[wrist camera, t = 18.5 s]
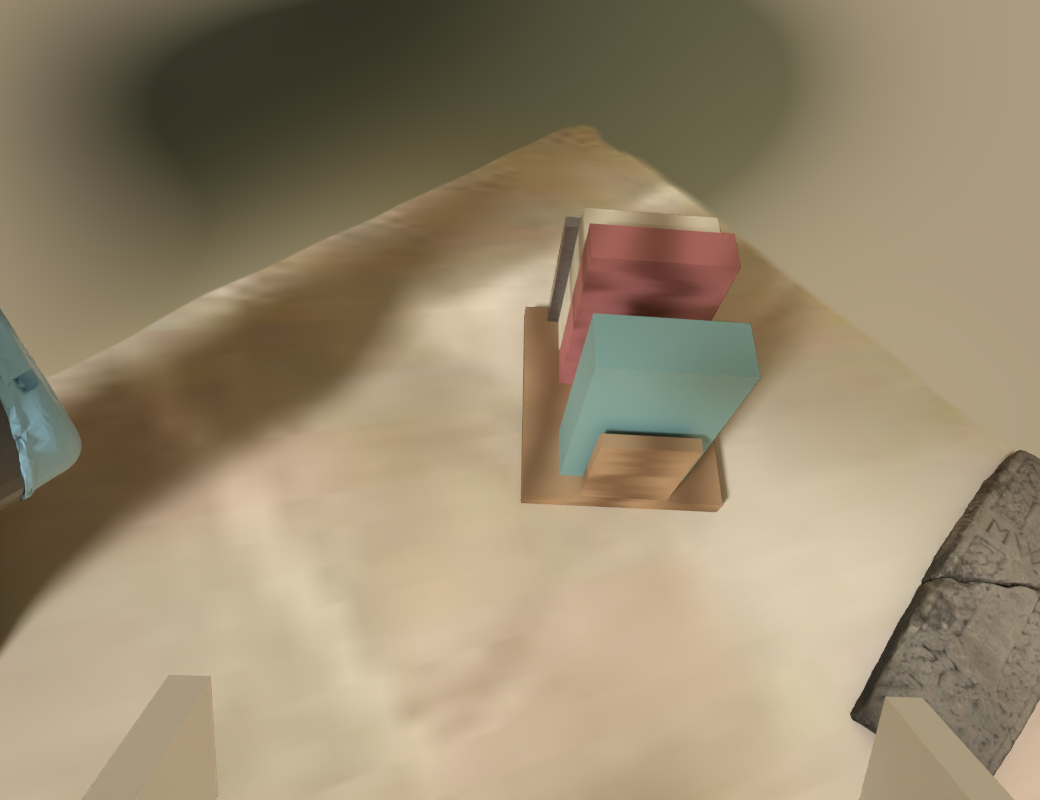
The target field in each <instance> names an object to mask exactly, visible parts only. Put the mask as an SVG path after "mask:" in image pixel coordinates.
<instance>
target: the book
mask: <svg viewBox="0 0 1040 800" xmlns="http://www.w3.org/2000/svg"><path fill="white" fill-rule="evenodd" d="M760 378H761V376H760V370H759V365H758V360H757V355H756V349H755V344H754V339H753V333H752V328H751V323H735V322H720V321H705V320H690V319H674V318H659V317H644V316H628V315H613V314H598V313H593V316H592V319H591V323H590V326H589V330H588V333H587V337H586V340H585V343H584V347H583V350H582V354H581V357H580V361H579V364H578V367H577V371H576V374H575V378H574V381H573V385H572V388H571V391H570V395H569V398H568V402H567V405H566V409H565V412H564V416H563V419H562V422H561V426H560V429H559V459H560V475H569V476H583V474H584V472H585V469H586V467H587V464H588V462H589V459H590V457H591V455H592V452H593V450H594V447H595V445H596V442H597V440H598V438H599V435H600V433H602V434H621V435H640V436H658V437H677V438H695V439H702V446H703V453H702V454H701V456H702V455H703V454H704V452H705V451H706V450H707V448H708V447H709V446H710V444H711V443H712V442H713V440H714V439H715V438H716V436H717V435H718V434H719V432H720V431H721V430H722V428H723V427H724V426H725V424H726V423H727V422H728V420H729V419H730V418H731V416H732V415H733V414H734V413H735V411H736V410H737V409H738V407H739V406H740V405H741V403H742V402H743V401H744V399H745V398H746V397H747V395H748V394H749V393H750V391H751V390H752V389H753V387H754V386H755V385H756V383H757V382H758V381H759V379H760ZM701 456H700V457H699V458H698V460H699V459H700V458H701ZM698 460H697V461H696V462H695V464H696V463H697V462H698ZM695 464H694V465H695ZM694 465H693V466H692V468H693V467H694ZM692 468H691V469H692ZM691 469H690V470H689V472H690V471H691ZM689 472H688V473H689ZM688 473H687V474H686V476H687V475H688ZM686 476H685V477H686ZM685 477H684V478H683V480H684V479H685ZM683 480H682V481H683Z"/></svg>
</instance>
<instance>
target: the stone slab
mask: <svg viewBox="0 0 1040 800" xmlns="http://www.w3.org/2000/svg"><path fill="white" fill-rule="evenodd" d="M885 697H916V698H923V699H924V700H925V701H926V702H927V703H928V705H929V706H930V707H931V708H932V709H933V710H934V711H935V712H936V713H937V715H938V716H939V717H940V718H941V719H942V720H943V721H944V722H945V723H946V725H947V726H948V727H949V728H950V729H951V730H952V731H953V732H954V733H955V735H956V736H957V737H958V738H959V739H960V740H961V741H962V742H963V743H964V745H965V746H966V747H967V748H968V749H969V750H970V751H971V752H972V753H973V755H974V756H975V757H976V758H977V759H978V760H979V761H980V762H981V763H982V765H983V766H984V767H985V768H986V769H987V770H988V771H989V772H990V773H991V774H992V776H994V774H995V773H996V771H997V770H998V768H999V767H1000V765H1001V764H1002V762H1003V760H1004V759H1005V757H1006V756H1007V754H1008V753H1009V751H1010V750H1011V749H1012V747H1013V745H1014V743H1015V741H1016V739H1017V738H1018V736H1019V735H1020V734H1021V732H1022V730H1023V728H1024V726H1025V724H1026V723H1027V721H1028V719H1029V717H1030V716H1031V714H1032V713H1033V711H1034V709H1035V707H1036V704H1037V703H1038V702H1039V700H1040V459H1039V458H1037V457H1035V456H1033V455H1032V454H1029V453H1028V452H1026V451H1022V450H1019V451H1017V452H1015V453H1014V454H1013V455H1011V456H1009V457H1008V458H1007V459H1006V460H1005V461H1004V462H1003V463H1002V464H1001V465H999V467H998V468H997V469H996V470H995V474H993V475H992V476H991V477H989V478H988V479H987V480H985V481H984V482H983V483H982V485H981V488H980V489H979V491H978V492H977V493H976V495H975V497H974V499H973V500H972V501H971V502H970V503H969V505H968V508H966V510H965V513H964V514H963V516H962V517H961V519H959V520H958V522H957V523H956V524H955V526H954V528H953V530H952V531H951V532H950V534H949V536H948V537H947V538H946V540H945V542H944V544H943V545H942V546H941V547H940V550H939V551H938V552H937V555H936V556H934V559H933V561H932V563H931V565H930V567H929V568H928V571H927V572H926V573H925V577H924V578H923V579H922V585H921V586H919V588H918V589H917V591H916V593H915V595H914V597H913V599H912V601H911V603H910V605H909V606H908V608H907V609H906V611H905V613H904V614H903V616H902V618H901V619H900V621H899V622H898V624H897V626H896V628H895V630H894V631H893V635H892V636H891V638H890V640H889V641H888V643H887V645H886V647H885V649H884V651H883V653H882V655H881V657H880V659H879V661H878V663H877V664H876V666H875V667H874V670H873V671H872V674H871V676H870V678H869V679H868V681H867V683H866V686H865V688H864V690H863V692H862V694H861V695H860V697H859V699H858V700H857V702H856V704H855V706H854V708H853V709H852V711H851V713H850V715H851V718H852V719H853V720H854V721H856V722H858V723H860V724H861V725H863V726H864V727H866V728H867V729H869V730H870V731H872V732H873V733H875V734H876V732H877V728H878V724H879V720H880V716H881V712H882V708H883V704H884V700H885Z"/></svg>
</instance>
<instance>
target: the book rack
mask: <svg viewBox="0 0 1040 800" xmlns="http://www.w3.org/2000/svg"><path fill="white" fill-rule="evenodd" d="M740 268H741V266H740V261H739V256H738V251H737V245H736V240H735V235H734V234H729V233H721V231H720V227H719V221H718V218H714V217H700V216H687V215H673V214H660V213H647V212H633V211H620V210H606V209H593V208H583V213H582V217H581V218H575V217H566V219H565V224H564V229H563V234H562V240H561V245H560V250H559V255H558V260H557V266H556V271H555V276H554V281H553V286H552V292H551V297H550V302H549V307H548V308H536V307H526V309H525V316H524V364H523V418H522V472H521V503H536V504H557V505H578V506H600V507H621V508H643V509H664V510H685V511H707V512H717V511H718V510H719V509H720V508H721V507H722V506H723V504H722V496H721V489H720V482H719V475H718V468H717V461H716V454H715V447H714V440H713V442H712V443H711V444H710V446H709V447H708V448H707V450H706V451H705V452H704V454H703V455H702V456H701V454H702V453H703V446H702V439H695V438H677V437H658V436H640V435H621V434H602V433H600V435H599V438H598V440H597V442H596V445H595V447H594V450H593V452H592V455H591V457H590V459H589V462H588V464H587V467H586V469H585V472H584V474H583V476H569V475H560V459H559V429H560V426H561V422H562V419H563V416H564V412H565V409H566V405H567V402H568V398H569V395H570V391H571V388H572V385H573V381H574V378H575V374H576V371H577V367H578V364H579V361H580V357H581V354H582V350H583V347H584V343H585V340H586V337H587V333H588V330H589V326H590V323H591V319H592V316H593V313H598V314H613V315H628V316H644V317H659V318H674V319H690V320H705V321H711V320H712V319H713V317H714V315H715V313H716V311H717V310H718V308H719V306H720V304H721V302H722V300H723V299H724V297H725V295H726V293H727V291H728V290H729V288H730V286H731V284H732V282H733V281H734V279H735V277H736V275H737V273H738V272H739V270H740ZM700 456H701V458H700V459H699V460H698V458H699V457H700ZM697 460H698V462H697V463H696V464H695V462H696V461H697ZM694 464H695V465H694ZM693 465H694V467H693V468H692V466H693ZM691 468H692V469H691ZM690 469H691V471H690V472H689V470H690ZM688 472H689V473H688ZM687 473H688V475H687V476H686V474H687ZM685 476H686V477H685ZM684 477H685V479H684V480H683V478H684ZM682 480H683V481H682Z"/></svg>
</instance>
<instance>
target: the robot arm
mask: <svg viewBox="0 0 1040 800" xmlns="http://www.w3.org/2000/svg"><path fill="white" fill-rule="evenodd" d="M81 448H82V442H81V438H80V435H79V433H78V431H77V429H76V427H75V426H74V424H73V422H72V420H71V419H70V417H69V415H68V414H67V412H66V410H65V409H64V407H63V405H62V404H61V402H60V400H59V399H58V397H57V396H56V394H55V392H54V391H53V389H52V388H51V386H50V384H49V383H48V381H47V380H46V378H45V377H44V375H43V373H42V372H41V370H40V369H39V367H38V366H37V364H36V363H35V361H34V359H33V358H32V356H31V355H30V353H29V352H28V350H27V348H26V347H25V345H24V344H23V342H22V341H21V339H20V338H19V337H18V335H17V333H16V332H15V330H14V329H13V327H12V326H11V324H10V323H9V321H8V320H7V318H6V317H5V315H4V314H3V312H2V311H1V309H0V511H1V510H3V509H5V508H7V507H9V506H10V505H12V504H14V503H16V502H18V501H20V500H25V499H27V498H29V497H30V496H31V495H32V494H33V493H34V491H35V489H37V488H39V487H40V486H42V485H43V484H45V483H47V482H48V481H50V480H51V479H53V478H55V477H56V476H58V475H59V474H61V473H63V472H64V471H66V470H67V469H69V468H70V467H71V466H72V465H74V463H75V462H76V461H77V459H78V458H79V456H80V453H81ZM217 796H218V788H217V771H216V755H215V738H214V721H213V705H212V688H211V676H179V675H169V676H168V677H167V678H166V680H165V681H164V683H163V684H162V686H161V687H160V688H159V690H158V691H157V693H156V694H155V696H154V697H153V698H152V700H151V701H150V703H149V704H148V706H147V707H146V708H145V710H144V711H143V713H142V714H141V716H140V717H139V718H138V720H137V721H136V723H135V724H134V726H133V727H132V728H131V730H130V731H129V733H128V734H127V736H126V737H125V738H124V740H123V741H122V743H121V744H120V746H119V747H118V748H117V750H116V751H115V753H114V754H113V756H112V757H111V758H110V760H109V761H108V763H107V764H106V766H105V767H104V768H103V770H102V771H101V773H100V774H99V776H98V777H97V778H96V780H95V781H94V783H93V784H92V786H91V787H90V788H89V790H88V791H87V793H86V794H85V796H84V797H83V798H82V800H216V798H217ZM859 800H1014V799H1013V798H1012V797H1011V796H1010V794H1009V793H1008V792H1007V791H1006V790H1005V789H1004V788H1003V787H1002V786H1001V784H1000V783H999V782H998V781H997V780H996V779H995V778H994V777H993V776H992V774H991V773H990V772H989V771H988V770H987V769H986V768H985V767H984V766H983V765H982V763H981V762H980V761H979V760H978V759H977V758H976V757H975V756H974V755H973V753H972V752H971V751H970V750H969V749H968V748H967V747H966V746H965V745H964V743H963V742H962V741H961V740H960V739H959V738H958V737H957V736H956V735H955V733H954V732H953V731H952V730H951V729H950V728H949V727H948V726H947V725H946V723H945V722H944V721H943V720H942V719H941V718H940V717H939V716H938V715H937V713H936V712H935V711H934V710H933V709H932V708H931V707H930V706H929V705H928V703H927V702H926V701H925V700H924V699H923V698H916V697H885V700H884V704H883V708H882V712H881V716H880V720H879V724H878V728H877V732H876V736H875V740H874V744H873V748H872V752H871V756H870V760H869V764H868V768H867V772H866V776H865V779H864V783H863V787H862V791H861V795H860V799H859Z"/></svg>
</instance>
